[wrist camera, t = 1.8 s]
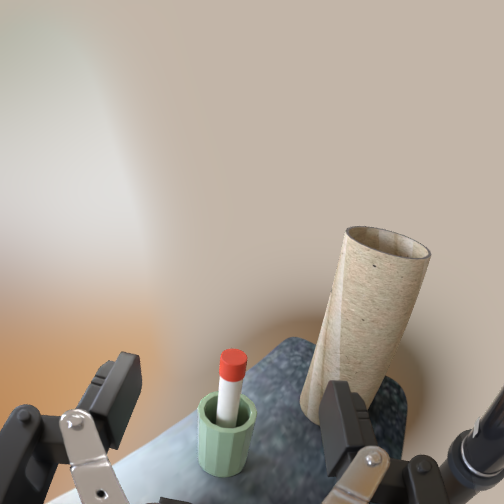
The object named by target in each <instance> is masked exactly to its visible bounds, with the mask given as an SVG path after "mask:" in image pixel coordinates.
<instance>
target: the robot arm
mask: <svg viewBox="0 0 504 504" xmlns="http://www.w3.org/2000/svg"><path fill="white" fill-rule="evenodd" d="M141 388H142V375H141V367H140V358H139V355H136V354H131V353H126V352H121V353H120V354H119V356H118V358H117V360H116V361H115V362H113V361H110V360H109V361H107V362H106V363H105V364H103V365H102V366H101V367H100V368H99V369H98V371H97V373H96V375H95V377H94V378H93V380H92V381H91V384H90V385H89V386H88V388H87V390H86V391H85V393H84V395H83V397H82V398H81V400H80V402H79V404H78V406H77V407H76V408H75V409H71V410H68V411H66V412H65V413H64V414H63V415H62V416H48V415H41V414H40V412H39V410H38V409H37V408H35V407H34V406H32V405H27V404H26V405H25V404H24V405H20V406H18V407H16V408H15V409H14V410H13V411H12V413H11V414H10V416H9V418H8V419H7V421H6V423H5V424H4V426H3V428H2V429H1V431H0V504H43V503H44V500H45V498H46V495H47V492H48V489H49V487H50V484H51V482H52V479H53V476H54V474H55V471H56V469H57V466H58V464H71V467H70V471H71V474H72V477H73V480H74V483H75V486H76V489H77V491H78V494H79V497H80V499H81V502H82V504H130V503H129V501H128V500H127V498H126V496H125V494H124V492H123V490H122V487H121V485H120V483H119V481H118V479H117V477H116V475H115V472H114V470H113V468H112V466H111V463H110V461H109V459H108V457H107V452H108V450H109V448H112V449H115V450H118V448H119V445H120V442H121V440H122V437H123V435H124V432H125V430H126V427H127V425H128V422H129V419H130V417H131V415H132V412H133V409H134V407H135V405H136V402H137V400H138V398H139V395H140V392H141ZM318 415H319V422H320V429H321V435H322V442H323V448H324V455H325V462H326V469H327V476H328V477H336V478H337V483H336V485H335V486H334V487H333V489H332V490H331V491H330V493H329V494H328V495H327V497H326V498H325V499H324V500H323V502H322V503H321V504H370V503H369V502H373V503H379V504H450V503H449V499H448V496H447V492H446V489H445V486H444V482H443V479H442V476H441V473H440V470H439V467H438V464H437V462H436V461H435V460H434V459H433V458H431V457H430V456H427V455H417V456H415V457H414V458H412V459H411V460H410V461H404V460H398V459H393V458H390V457H389V455H388V453H387V452H386V451H385V450H383V449H382V448H380V447H378V444H377V440H376V437H375V434H374V430H373V427H372V424H371V421H370V419H369V418H370V417H369V414H368V412H367V408H366V404H365V401H364V400H363V399H362V397H361V396H360V395H359V394H358V393H357V392H351V390H350V387H349V384H348V381H345V380H329V382H328V384H327V387H326V389H325V392H324V394H323V397H322V399H321V402H320V405H319V412H318ZM479 418H480V417H479ZM479 418H478V419H477V421H476V422H475V426H474V428H473V429H472V430H471V432H470V433H469V434H468V435H467V436H466V437H465V438H464V439H463V441H462V442H461V444H460V447H459V457H460V461H461V463H462V465H463V466H464V468H465V469H466V470H467V471H468V472H469V473H470V474H472V475H473V476H475V477H477V478H481V479H490V478H493V477H495V476H497V475H498V474H499V473H500V472H501V471H502V470H503V469H504V385H503V387H502V388H501V390H500V392H499V393H498V395H497V396H496V397H495V399H494V400H493V402H492V403H491V405H490V406H489V408H488V409H487V410H486V412H485V413H484V415H483V416H482V417H481V419H480V420H479ZM147 504H192V503H189V502H184V501H179V500H174V499H169V498H164V497H160V501H159V503H147Z"/></svg>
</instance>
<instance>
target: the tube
mask: <svg viewBox="0 0 504 504" xmlns="http://www.w3.org/2000/svg"><path fill="white" fill-rule="evenodd" d="M430 257H431V253H430V251H429V250H428V249H427V247H425V246H424V245H422V244H421V243H419V242H417V241H415V240H413V239H411V238H409V237H406V236H404V235H401V234H398V233H395V232H392V231H388V230H384V229H379V228H374V227H366V226H355V227H350V228H347V230H346V231H345V235H344V240H343V244H342V249H341V253H340V257H339V261H338V266H337V270H336V274H335V278H334V282H333V287H332V290H331V294H330V298H329V302H328V305H327V309H326V313H325V317H324V320H323V324H322V327H321V331H320V335H319V338H318V341H317V345H316V348H315V352H314V355H313V358H312V362H311V365H310V368H309V371H308V375H307V378H306V381H305V384H304V387H303V390H302V393H301V396H300V405H301V409H302V411H303V412H304V414H305V416H306V417H308V418H309V419H310V420H311V421H312V422H314V423H315V424H317V425H319V426H320V422H319V415H318V412H319V405H320V402H321V399H322V397H323V394H324V392H325V389H326V387H327V384H328V382H329V380H345V381H348V384H349V387H350V390H351V392H357V393H358V394H359V395H360V396H361V397H362V399H363V400H364V401H365V404H366V408H367V410H368V408H369V406H370V404H371V402H372V400H373V398H374V397H375V395H376V393H377V391H378V389H379V387H380V385H381V382H382V380H383V378H384V376H385V374H386V372H387V370H388V368H389V366H390V363H391V361H392V359H393V357H394V354H395V352H396V350H397V348H398V345H399V343H400V340H401V338H402V336H403V333H404V331H405V328H406V326H407V323H408V321H409V318H410V316H411V313H412V310H413V308H414V305H415V302H416V299H417V297H418V294H419V291H420V288H421V285H422V282H423V279H424V276H425V273H426V270H427V267H428V264H429V261H430Z"/></svg>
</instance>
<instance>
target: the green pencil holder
mask: <svg viewBox="0 0 504 504" xmlns="http://www.w3.org/2000/svg"><path fill="white" fill-rule="evenodd" d="M218 394H219V391H217V392H212V393H210V394H209V395H207V396H205V397H204V398H203V399H202V400H201V402H200V404H199V406H198V419H197V455H198V462H199V464H200V466H201V468H202V469H203V470H204V471H206V472H207V473H209V474H210V475H213V476H216V477H230V476H234V475H236V474H238V473H239V472H240V471H241V470H242V469H243V468H244V466H245V463H246V459H247V455H248V451H249V447H250V443H251V438H252V434H253V430H254V425H255V421H256V417H257V411H256V408H255V405H254V403H253V402H252V401H251V400H250V399H249V398H247V397H246V396H245V395H243V394H241V396H240V402H239V408H238V415H237V421H236V427H235V428H233V429H232V428H221V427H219V426H217V425H216V417H217V405H218Z"/></svg>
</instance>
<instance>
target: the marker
mask: <svg viewBox="0 0 504 504" xmlns="http://www.w3.org/2000/svg"><path fill="white" fill-rule="evenodd" d="M246 365H247V355H246V354H245V353H244V352H243V351H241V350H238V349H227V350H225V351H223V352H222V354H221V358H220V369H219V374H220V382H219V394H218V405H217V417H216V425H217V426H219V427H221V428H232V429H233V428H235V427H236V421H237V415H238V408H239V402H240V396H241V389H242V383H243V378H244V376H245V371H246Z"/></svg>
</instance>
